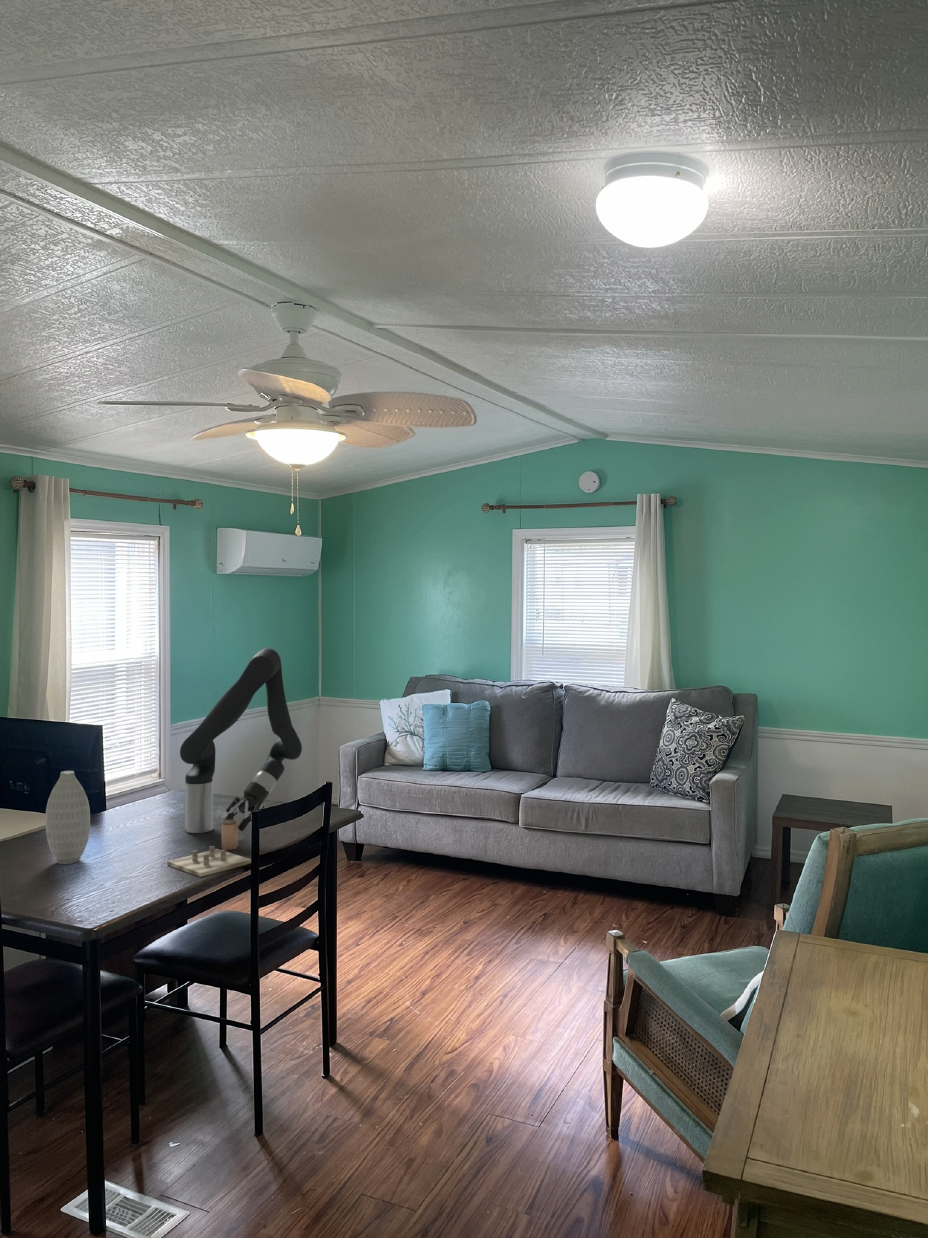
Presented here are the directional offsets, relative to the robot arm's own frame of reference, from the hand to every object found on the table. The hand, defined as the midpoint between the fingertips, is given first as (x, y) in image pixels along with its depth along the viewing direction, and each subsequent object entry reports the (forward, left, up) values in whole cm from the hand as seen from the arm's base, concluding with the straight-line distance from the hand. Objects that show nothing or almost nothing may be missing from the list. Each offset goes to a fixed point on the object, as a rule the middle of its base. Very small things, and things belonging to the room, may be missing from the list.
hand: (232, 827), depth 299 cm
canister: (0, -1, -6) cm, 7 cm away
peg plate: (+11, -16, -6) cm, 20 cm away
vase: (-25, -43, -7) cm, 50 cm away
